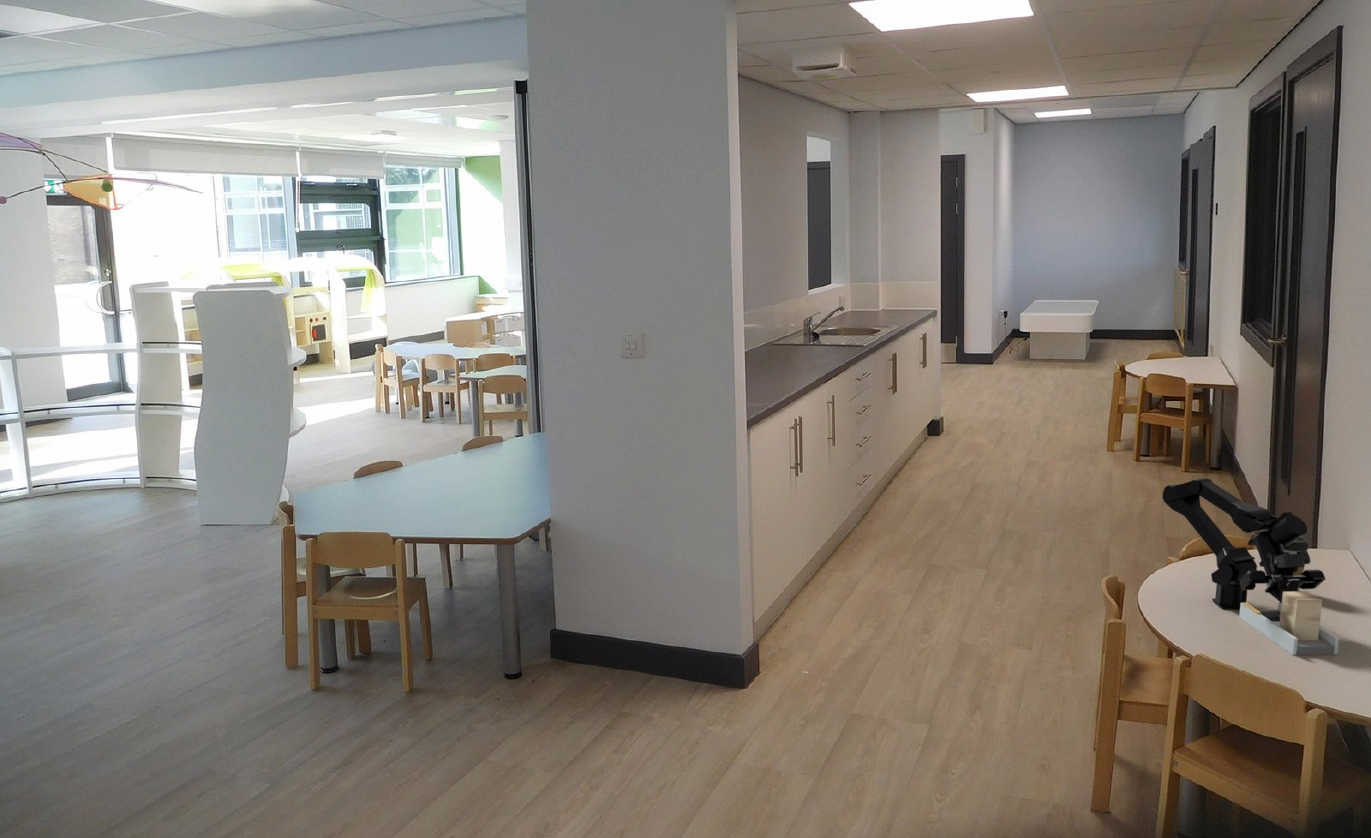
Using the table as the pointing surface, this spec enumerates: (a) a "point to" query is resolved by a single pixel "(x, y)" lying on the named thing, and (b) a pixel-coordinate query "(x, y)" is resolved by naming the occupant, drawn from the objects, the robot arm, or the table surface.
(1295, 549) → the coffee cup
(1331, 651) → the channel
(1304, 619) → the beech block
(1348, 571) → the table surface
